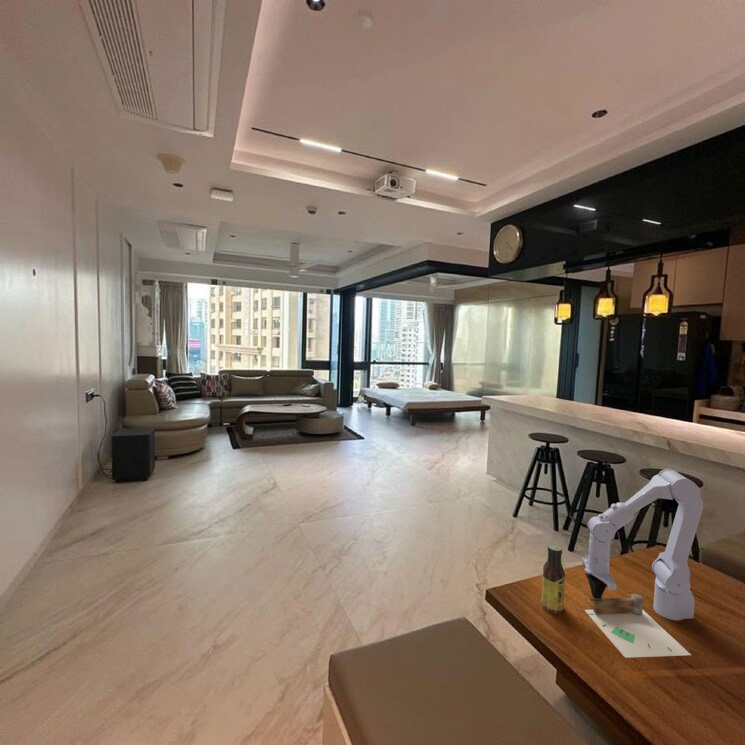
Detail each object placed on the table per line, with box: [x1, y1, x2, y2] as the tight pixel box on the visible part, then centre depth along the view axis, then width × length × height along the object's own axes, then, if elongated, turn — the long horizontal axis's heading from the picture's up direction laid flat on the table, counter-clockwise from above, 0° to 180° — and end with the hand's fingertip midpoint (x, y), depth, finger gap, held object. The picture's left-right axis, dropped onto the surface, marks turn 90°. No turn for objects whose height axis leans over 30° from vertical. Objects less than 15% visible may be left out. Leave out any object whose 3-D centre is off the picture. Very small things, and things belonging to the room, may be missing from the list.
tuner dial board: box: [584, 609, 692, 659], centre depth 111 cm, size 18×18×1 cm
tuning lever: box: [589, 593, 644, 615], centre depth 118 cm, size 16×3×5 cm, turn 93°
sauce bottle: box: [541, 544, 566, 614], centre depth 120 cm, size 7×6×20 cm
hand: (596, 597), depth 123 cm, fingers closed
